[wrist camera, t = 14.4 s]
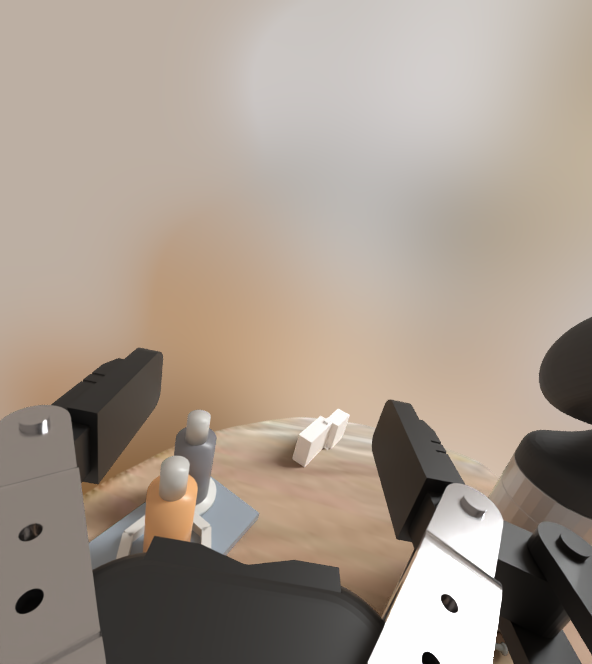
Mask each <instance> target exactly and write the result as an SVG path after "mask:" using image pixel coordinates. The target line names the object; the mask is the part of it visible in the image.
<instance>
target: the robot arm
mask: <svg viewBox="0 0 592 664" xmlns="http://www.w3.org/2000/svg"><path fill="white" fill-rule="evenodd" d="M162 365H163V355H162V353H161V352H158V351H153V350H148V349H144V348H137V349H136V350H135V351H133V352H132V353H131V354H130V355H129V356H127V357H126V358H125V359H120V358H118V359H115V360H113V361H110V362H107V363H105V364H103V365H101V366H100V367H99V368H97V369H96V370H95V371H94V372H93V373H92V374H90V375H89V376H87V377H86V378H85V379H84V380H83V382H82V381H81V382H80V383H78V384H77V385H76V386H74V387H73V388H72V389H71V390H69V391H68V392H67V393H66V394H64V395H63V396H62V397H60V398H59V399H58V400H57V401H55V402H54V403H53V404H52V405H39V406H32V407H27V408H24V409H20V410H18V411H15V412H13V413H11V414H9V415H7V416H6V417H4V418H3V419H2V420H1V421H0V664H492V660H493V653H494V646H495V639H496V632H497V631H499V632H500V633H501V634H502V636H503V639H504V641H505V644H506V646H507V648H508V651H509V653H510V656H511V658H512V660H513V663H514V664H582V663H581V662H580V660H579V658H578V656H577V655H576V653H575V651H574V649H573V648H572V646H571V644H570V642H569V641H568V639H567V637H566V635H565V633H564V632H563V630H562V629H563V628H564V627H565V626H566V625H567V623H568V622H569V621H570V620H571V621H572V623H573V624H574V626H575V628H576V629H577V631H578V633H579V634H580V636H581V638H582V639H583V641H584V643H585V644H586V646H587V648H588V649H589V651H590V653H591V654H592V430H586V431H574V432H567V431H551V430H537V431H533V432H531V433H528V434H527V435H526V436H525V437H524V438H523V440H522V441H521V443H520V444H519V446H518V448H517V449H516V451H515V453H514V454H513V456H512V458H511V459H510V462H509V463H508V465H507V466H506V468H505V470H504V471H503V473H502V475H501V477H500V478H499V480H498V482H497V483H496V485H495V487H494V488H493V490H492V492H491V493H490V495H489V497H488V498H487V497H486V496H485V495H484V494H482V493H481V492H479V491H478V490H476V489H474V488H472V487H470V486H467V485H465V483H464V482H463V480H462V478H461V476H460V475H459V473H458V471H457V470H456V468H455V466H454V464H453V463H452V461H451V459H450V457H449V456H448V454H446V451H445V449H444V447H443V445H441V442H440V440H439V438H438V437H437V435H436V433H435V432H434V431H433V429H431V428H430V427H429V426H428V425H427V424H426V423H425V422H424V421H423V420H419V418H418V416H417V415H416V412H415V411H414V409H413V407H412V405H411V404H409V403H404V402H400V401H394V400H388V401H387V402H386V403H385V406H384V408H383V411H382V413H381V416H380V419H379V421H378V424H377V427H376V429H375V432H374V435H373V439H372V452H373V456H374V459H375V463H376V467H377V470H378V474H379V477H380V481H381V485H382V488H383V492H384V495H385V499H386V503H387V506H388V510H389V513H390V517H391V521H392V524H393V528H394V531H395V535H396V539H398V540H403V541H409V542H412V543H413V546H414V550H413V552H412V554H411V556H410V558H409V560H408V562H407V564H406V567H405V569H404V571H403V573H402V575H401V577H400V579H399V581H398V583H397V586H396V588H395V590H394V592H393V594H392V596H391V598H390V600H389V602H388V605H387V607H386V609H385V611H384V613H383V615H382V617H380V616H379V615H378V613H377V612H376V611H375V610H374V609H373V608H372V607H370V606H369V605H368V604H367V603H366V602H365V601H364V600H362V599H361V598H360V597H359V596H357V595H356V594H354V593H353V592H351V591H350V590H348V589H346V588H345V587H342V586H341V585H340V574H339V568H338V567H332V566H326V565H321V564H315V563H309V562H303V561H298V560H290V561H281V562H271V563H262V564H253V565H246V564H243V563H240V562H238V561H236V560H234V559H232V558H230V557H227V556H225V555H223V554H221V553H219V552H217V551H215V550H213V549H211V548H209V547H206V546H204V545H202V544H199V543H193V542H188V541H182V540H176V539H170V538H164V537H159V536H154V537H153V539H152V542H151V544H150V546H149V548H148V550H147V552H145V553H137V554H133V555H128V556H124V557H121V558H118V559H115V560H112V561H110V562H108V563H106V564H103V565H101V566H99V567H97V568H95V569H93V570H92V564H91V557H90V549H89V541H88V534H87V526H86V518H85V510H84V503H83V495H82V487H81V483H82V481H83V482H88V483H94V484H99V483H100V481H101V480H102V479H103V477H104V476H105V475H106V473H107V472H108V471H109V469H110V468H111V467H112V465H113V464H114V462H115V461H116V460H117V458H118V457H119V456H120V454H121V453H122V452H123V450H124V449H125V448H126V446H127V445H128V444H129V442H130V441H131V440H132V438H133V437H134V436H135V434H136V433H137V431H138V430H139V429H140V428H141V426H142V425H143V423H144V422H145V421H146V419H147V418H148V417H149V415H150V414H151V413H152V411H153V410H154V408H155V407H156V405H157V403H158V400H159V396H160V391H161V379H162ZM539 383H540V388H541V391H542V393H543V395H544V396H545V398H546V399H547V400H548V401H549V402H550V404H552V405H553V406H554V407H556V408H557V409H559V410H560V411H561V412H563V413H565V414H567V415H569V416H571V417H573V418H576V419H578V420H581V421H583V422H586V423H588V424H592V317H591V318H589V319H587V320H584V321H583V322H581V323H579V324H577V325H576V326H574V327H573V328H571V329H570V330H568V331H567V332H566V333H565V334H563V335H562V336H561V337H560V338H559V339H558V340H557V341H556V342H555V343H554V344H553V345H552V346H551V348H550V349H549V350H548V352H547V353H546V355H545V357H544V359H543V361H542V364H541V367H540V372H539Z"/></svg>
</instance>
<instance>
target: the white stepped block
mask: <svg viewBox="0 0 592 664" xmlns="http://www.w3.org/2000/svg"><path fill="white" fill-rule="evenodd" d="M349 416H350V415H349V414H347V413H345V412H344V411H342V410H340V409H337V410H336V411H335V412H334V413H333V414H332V415H331V416H329V418H326V419H325V418H323V417H321V416H320V417H319V418H318V419H316V420H315V421H314V422H313V423H312V424H311V425H309V426H308V427H307V428H306V429H305V430H304V431H302V432H301V433H300V434H299V436H298V439H297V443H296V447H295V450H294V454H293V458H292V459H293V460H294V461H296V462H297V463H299V464H300V465H302V466H303V467H305V466H306V465H307V464H308V463H309V462H310V461H311V460H312V459H313V458H314V457H315V456H316V455H317V454H318V453H319V452H320V451H321V450H322V449H323V448H325V449H326V450H328V449H329V448H330V449H332V448H333V447H334V446H335V445H336V443H337V442H338V441H339V440H340V439H341V438H342V437H343V434H344V431H345V428H346V425H347V422H348V419H349Z"/></svg>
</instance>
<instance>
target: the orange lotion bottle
mask: <svg viewBox="0 0 592 664" xmlns="http://www.w3.org/2000/svg"><path fill="white" fill-rule="evenodd" d="M189 466H190V464H189V461H188V460H187V459H186V458H185V457H182V456H171V457H169V458H167V459H165V460H164V461H163V462H162V464H161V472H160V476H158V477H157V478H156V479H154V480H153V481H152V482H151V484H150V485H149V487H148V490H147V496H146V512H145V527H144V542H143V553H145V552H147V550H148V548H149V546H150V544H151V542H152V539H153V537H154V536H159V537H164V538H170V539H176V540H182V541H188V542H190V540H191V533H192V526H193V519H194V512H195V505H196V498H197V491H198V486H197V483H196V481H195V479H194V478H193V477H192V476H190V475H189Z"/></svg>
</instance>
